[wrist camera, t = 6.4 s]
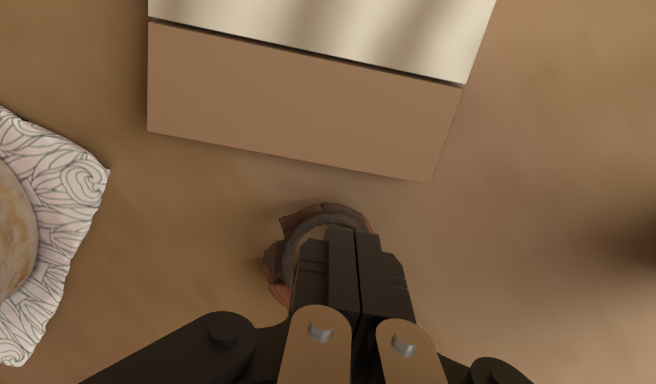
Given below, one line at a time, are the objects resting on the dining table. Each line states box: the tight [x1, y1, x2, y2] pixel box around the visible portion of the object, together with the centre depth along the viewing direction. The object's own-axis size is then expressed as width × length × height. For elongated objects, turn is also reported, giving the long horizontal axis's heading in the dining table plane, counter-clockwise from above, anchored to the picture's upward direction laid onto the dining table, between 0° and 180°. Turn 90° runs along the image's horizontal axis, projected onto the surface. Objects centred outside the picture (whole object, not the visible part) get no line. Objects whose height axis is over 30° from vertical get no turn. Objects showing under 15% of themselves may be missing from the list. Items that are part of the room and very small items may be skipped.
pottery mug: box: [262, 203, 374, 309], centre depth 34 cm, size 12×9×8 cm
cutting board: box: [147, 17, 464, 185], centre depth 27 cm, size 21×17×3 cm
